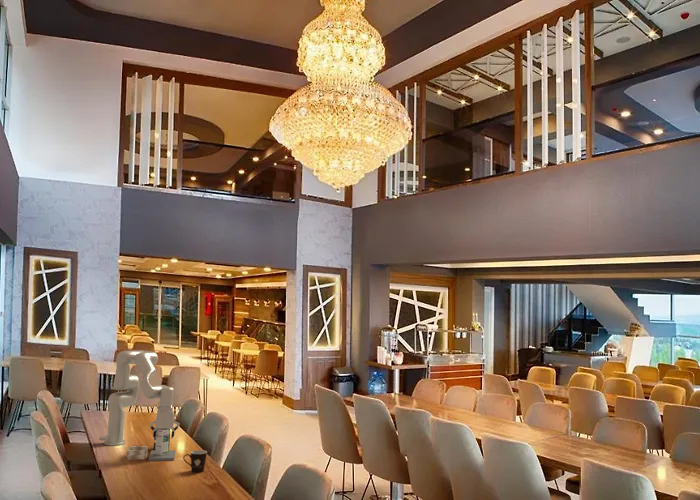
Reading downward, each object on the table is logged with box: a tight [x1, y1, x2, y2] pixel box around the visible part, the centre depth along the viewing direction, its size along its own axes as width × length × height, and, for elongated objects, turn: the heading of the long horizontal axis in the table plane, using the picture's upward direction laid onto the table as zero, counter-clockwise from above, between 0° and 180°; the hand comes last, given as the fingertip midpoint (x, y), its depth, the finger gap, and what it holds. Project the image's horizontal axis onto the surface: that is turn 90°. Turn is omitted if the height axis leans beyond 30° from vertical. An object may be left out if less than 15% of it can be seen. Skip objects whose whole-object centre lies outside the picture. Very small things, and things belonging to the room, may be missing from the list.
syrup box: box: [154, 429, 171, 456], centre depth 340 cm, size 6×6×14 cm
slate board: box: [148, 449, 176, 462], centre depth 339 cm, size 14×18×2 cm
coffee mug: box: [183, 449, 208, 474], centre depth 314 cm, size 12×9×10 cm
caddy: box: [126, 445, 149, 461], centre depth 336 cm, size 10×10×5 cm
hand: (163, 438), depth 340 cm, fingers open, 9 cm apart
